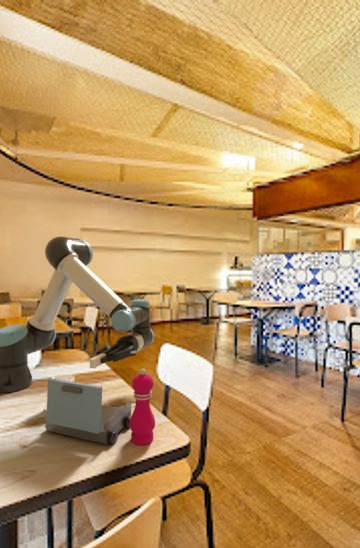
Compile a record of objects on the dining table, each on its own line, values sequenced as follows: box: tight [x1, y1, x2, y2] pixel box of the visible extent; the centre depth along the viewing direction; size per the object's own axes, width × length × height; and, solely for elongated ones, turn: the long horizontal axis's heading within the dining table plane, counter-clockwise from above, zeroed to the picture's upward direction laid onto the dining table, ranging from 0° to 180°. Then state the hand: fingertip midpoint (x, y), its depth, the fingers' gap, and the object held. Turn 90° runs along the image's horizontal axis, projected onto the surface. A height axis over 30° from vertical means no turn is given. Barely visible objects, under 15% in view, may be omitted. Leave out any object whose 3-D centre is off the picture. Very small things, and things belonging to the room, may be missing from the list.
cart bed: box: [44, 401, 132, 445], centre depth 93 cm, size 22×14×6 cm, turn 71°
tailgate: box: [45, 377, 103, 433], centre depth 85 cm, size 17×2×12 cm, turn 71°
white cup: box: [51, 374, 75, 382], centre depth 105 cm, size 8×8×10 cm
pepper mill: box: [129, 368, 156, 446], centre depth 87 cm, size 7×7×20 cm
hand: (91, 363), depth 92 cm, fingers closed
